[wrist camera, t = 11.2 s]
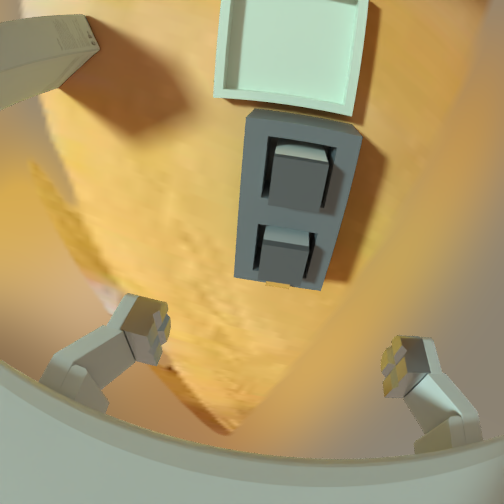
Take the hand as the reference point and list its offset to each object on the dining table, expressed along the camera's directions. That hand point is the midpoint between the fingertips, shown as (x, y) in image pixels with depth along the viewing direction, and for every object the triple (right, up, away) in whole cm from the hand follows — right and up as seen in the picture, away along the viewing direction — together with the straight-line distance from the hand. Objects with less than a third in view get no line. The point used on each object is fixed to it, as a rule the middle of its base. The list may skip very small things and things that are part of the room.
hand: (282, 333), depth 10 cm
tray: (+2, +21, +11) cm, 24 cm away
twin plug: (+2, +5, +21) cm, 22 cm away
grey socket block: (+3, +9, +19) cm, 21 cm away
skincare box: (-21, +25, +12) cm, 35 cm away
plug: (+3, +11, +16) cm, 20 cm away
